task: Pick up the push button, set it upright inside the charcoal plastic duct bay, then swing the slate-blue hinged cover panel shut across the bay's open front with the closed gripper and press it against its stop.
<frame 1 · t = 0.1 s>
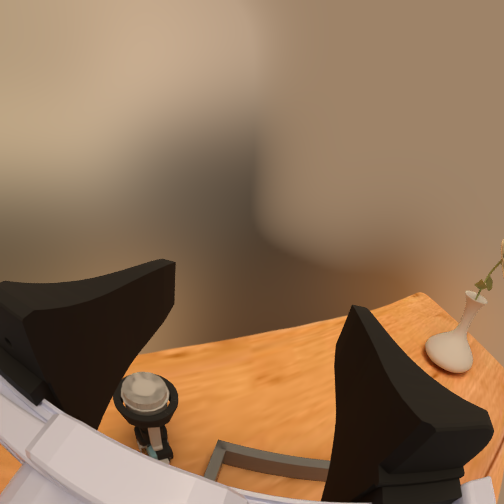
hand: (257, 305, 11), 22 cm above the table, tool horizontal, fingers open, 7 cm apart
push button: (156, 454, 22), on the table
flower in vase: (447, 360, 42), on the table
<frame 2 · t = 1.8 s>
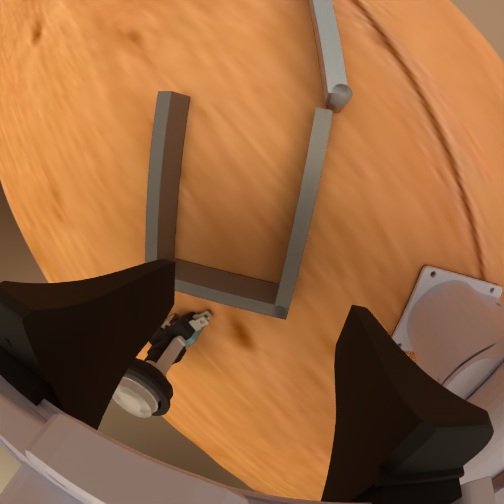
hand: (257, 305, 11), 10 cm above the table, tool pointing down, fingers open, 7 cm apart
push button: (187, 323, 26), on the table
duct bay: (235, 190, 20), on the table
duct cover: (324, 23, 12), point 3 cm above the table, hinge at -75.0°
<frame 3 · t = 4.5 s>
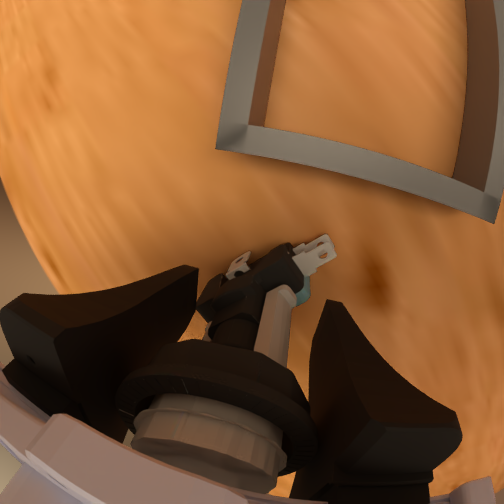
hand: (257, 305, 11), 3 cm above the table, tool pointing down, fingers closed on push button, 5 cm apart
push button: (271, 269, 14), on the table, touching gripper
duct bay: (383, 23, 8), on the table
when the fingers open (5 cm above the table, at t = 8.9 s): push button stays where it is, resting in duct bay.
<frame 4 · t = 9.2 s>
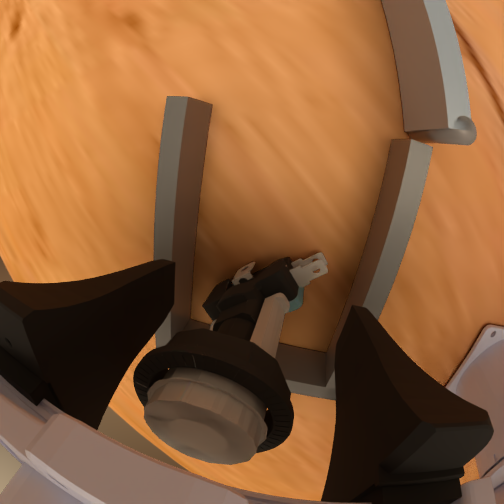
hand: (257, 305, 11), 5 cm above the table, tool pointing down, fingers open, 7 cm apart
push button: (271, 279, 16), resting in duct bay
duct bay: (277, 242, 15), on the table
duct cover: (415, 17, 7), point 3 cm above the table, hinge at -75.0°
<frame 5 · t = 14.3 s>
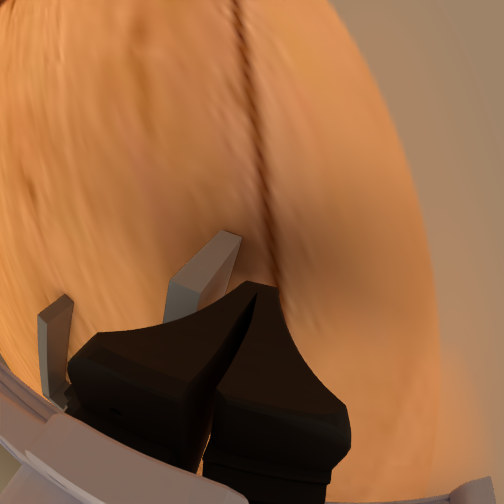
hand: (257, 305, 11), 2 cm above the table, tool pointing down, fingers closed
push button: (104, 391, 21), resting in duct bay
duct bay: (106, 381, 20), on the table
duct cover: (189, 360, 13), point 3 cm above the table, hinge at -75.0°, touching gripper
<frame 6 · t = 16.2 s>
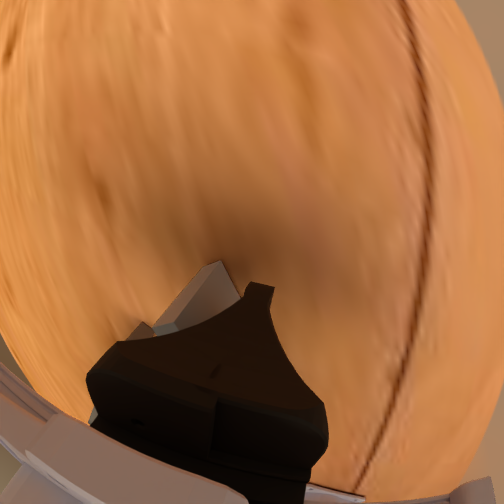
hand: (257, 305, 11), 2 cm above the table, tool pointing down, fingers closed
duct bay: (177, 410, 19), on the table
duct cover: (253, 388, 12), point 3 cm above the table, hinge at -31.1°, touching gripper
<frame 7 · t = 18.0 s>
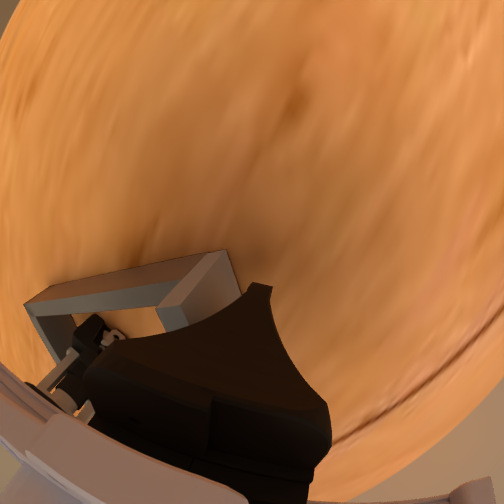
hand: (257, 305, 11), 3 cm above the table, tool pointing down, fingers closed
push button: (125, 347, 18), resting in duct bay
duct bay: (148, 348, 17), on the table
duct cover: (242, 380, 13), point 3 cm above the table, hinge at 1.1°, touching duct bay, gripper
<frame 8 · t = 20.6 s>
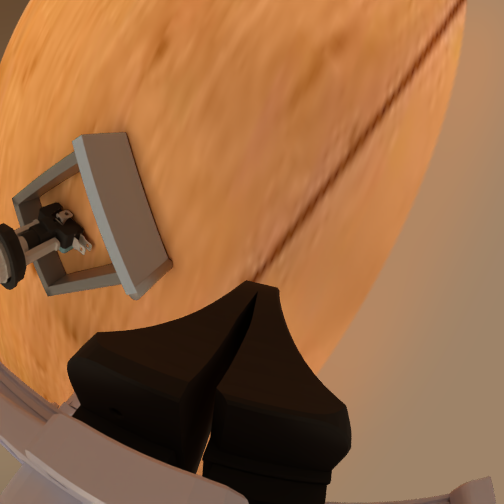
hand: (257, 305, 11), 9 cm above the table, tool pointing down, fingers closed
push button: (73, 227, 24), resting in duct bay
duct bay: (86, 221, 23), on the table
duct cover: (124, 210, 19), point 3 cm above the table, hinge at 1.1°, touching duct bay
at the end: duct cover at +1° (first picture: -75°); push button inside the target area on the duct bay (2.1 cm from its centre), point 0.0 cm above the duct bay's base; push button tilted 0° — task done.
